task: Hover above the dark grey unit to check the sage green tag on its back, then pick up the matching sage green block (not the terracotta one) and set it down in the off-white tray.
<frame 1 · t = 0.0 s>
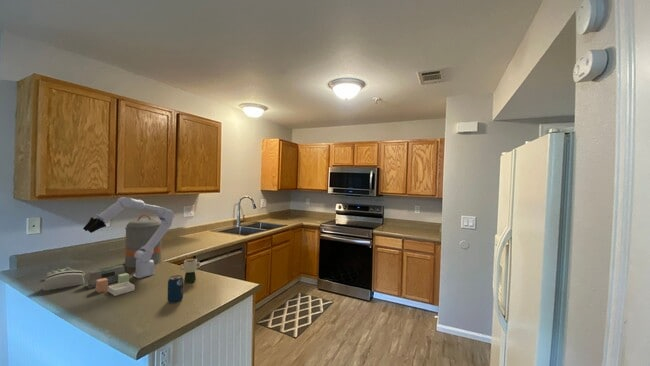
hand: (86, 230, 145), 32 cm above the countertop, tool tilted 50°, fingers open, 7 cm apart
sage green block: (123, 285, 154), on the countertop
grey unit: (106, 282, 157), on the countertop
character mug: (189, 282, 161), on the countertop
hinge: (64, 287, 149), on the countertop
soda can: (175, 301, 136), on the countertop
terracotta block: (101, 290, 145), on the countertop
off-white tray: (121, 290, 146), on the countertop
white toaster: (64, 278, 163), on the countertop
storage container: (143, 262, 194), on the countertop
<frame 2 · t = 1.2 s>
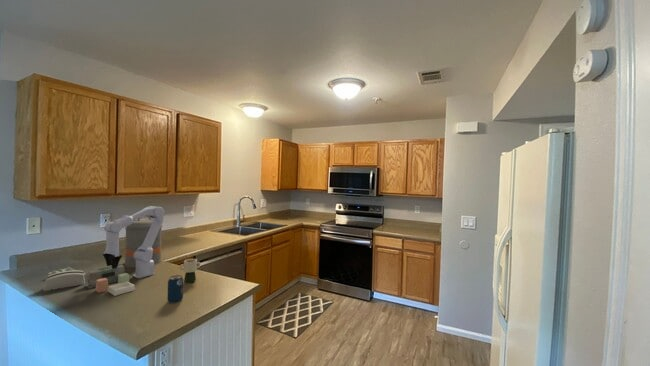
hand: (112, 266, 153), 10 cm above the countertop, tool pointing down, fingers open, 7 cm apart
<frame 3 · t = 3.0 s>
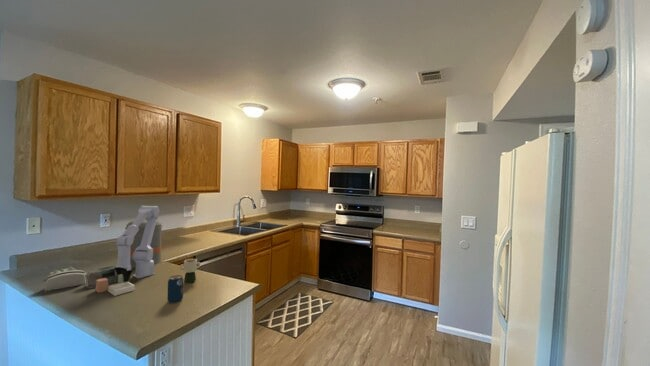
hand: (123, 280, 153), 3 cm above the countertop, tool pointing down, fingers open, 7 cm apart
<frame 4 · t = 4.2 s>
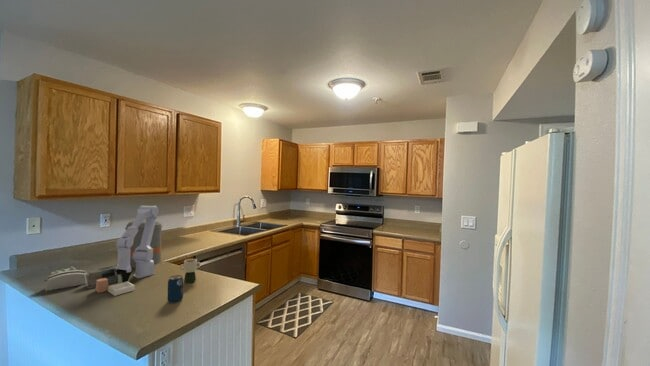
hand: (123, 282, 154), 2 cm above the countertop, tool pointing down, fingers closed on sage green block, 4 cm apart
sage green block: (123, 284, 154), on the countertop, touching gripper
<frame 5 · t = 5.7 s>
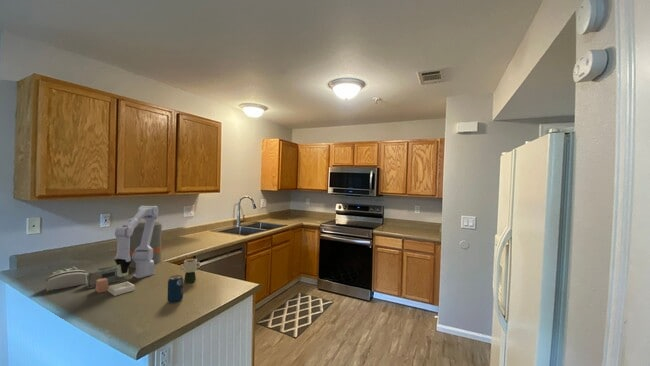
hand: (122, 272, 150), 9 cm above the countertop, tool pointing down, fingers closed on sage green block, 4 cm apart
sage green block: (122, 275, 150), point 7 cm above the countertop, touching gripper
when the fingers open (4 cm above the countertop, at t = 7.6 s): sage green block drops 2 cm, resting on off-white tray.
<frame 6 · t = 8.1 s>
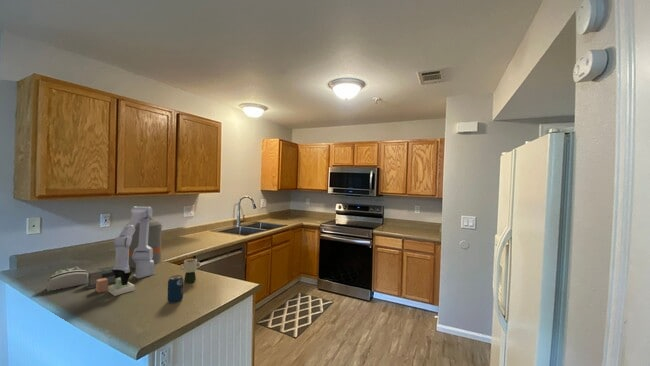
hand: (121, 283, 145), 4 cm above the countertop, tool pointing down, fingers open, 7 cm apart
sage green block: (121, 289, 145), point 1 cm above the countertop, touching off-white tray
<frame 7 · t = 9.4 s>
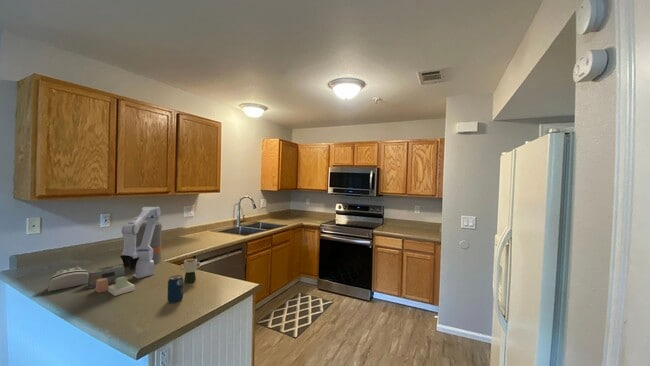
hand: (129, 268, 154), 9 cm above the countertop, tool pointing down, fingers open, 7 cm apart
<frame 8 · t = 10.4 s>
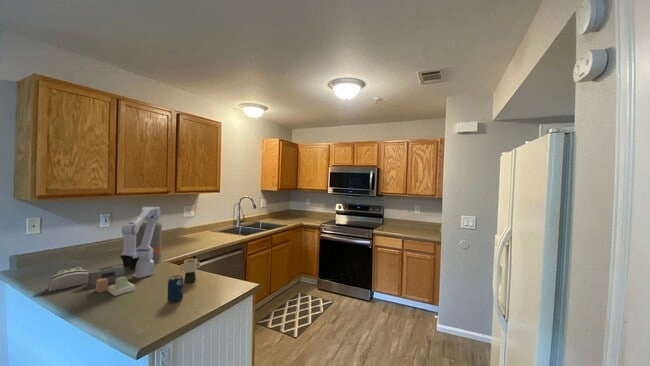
hand: (129, 268, 154), 9 cm above the countertop, tool pointing down, fingers open, 7 cm apart
at the end: sage green block 0.1 cm off-centre on the off-white tray, point 1.0 cm above the off-white tray's base; sage green block tilted 0°; terracotta block moved 0.1 cm from its start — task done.
